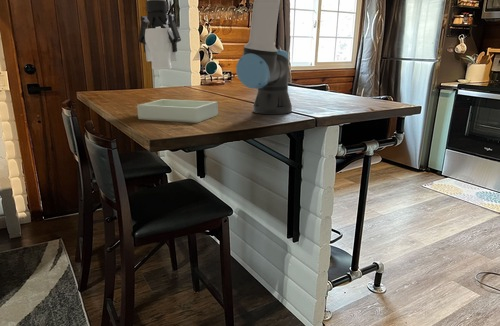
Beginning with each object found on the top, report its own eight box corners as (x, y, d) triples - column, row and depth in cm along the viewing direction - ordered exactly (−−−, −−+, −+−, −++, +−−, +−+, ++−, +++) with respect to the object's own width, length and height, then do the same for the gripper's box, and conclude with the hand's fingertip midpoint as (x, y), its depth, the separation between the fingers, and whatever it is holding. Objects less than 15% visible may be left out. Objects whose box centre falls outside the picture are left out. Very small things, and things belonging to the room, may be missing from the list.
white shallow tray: (217, 115, 144) (217, 101, 143) (197, 122, 130) (196, 108, 128) (163, 111, 153) (162, 99, 151) (138, 118, 138) (137, 105, 137)
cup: (168, 69, 146) (165, 27, 141) (143, 69, 148) (138, 28, 144) (179, 68, 155) (176, 28, 151) (155, 68, 158) (151, 29, 153)
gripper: (187, -1, 144) (191, 60, 150) (137, 3, 152) (143, 61, 158) (176, -3, 137) (181, 61, 143) (124, 1, 145) (131, 61, 152)
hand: (161, 61), depth 151 cm, fingers closed on cup, 10 cm apart
